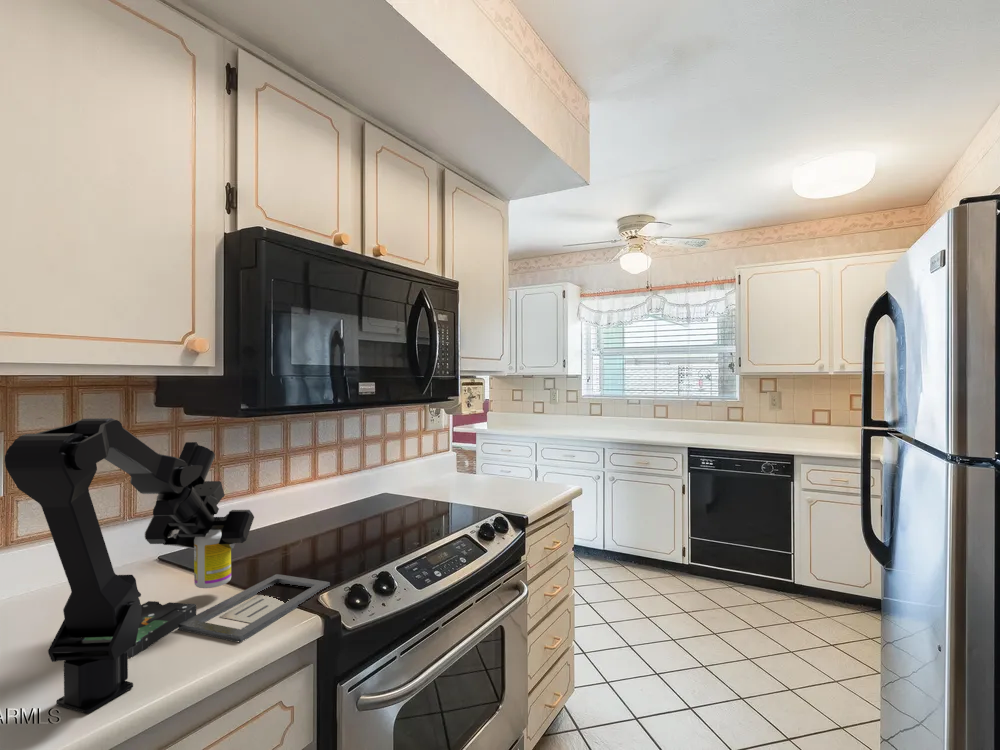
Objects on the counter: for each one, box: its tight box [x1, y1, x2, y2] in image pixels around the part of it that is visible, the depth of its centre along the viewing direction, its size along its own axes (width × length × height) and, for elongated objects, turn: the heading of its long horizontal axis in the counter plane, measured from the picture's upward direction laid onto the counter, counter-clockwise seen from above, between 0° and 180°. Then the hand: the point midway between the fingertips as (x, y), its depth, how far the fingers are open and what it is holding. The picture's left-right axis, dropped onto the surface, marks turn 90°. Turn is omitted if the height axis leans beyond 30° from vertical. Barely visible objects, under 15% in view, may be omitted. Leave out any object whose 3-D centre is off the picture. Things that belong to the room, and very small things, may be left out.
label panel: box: [177, 573, 331, 643], centre depth 103 cm, size 24×14×1 cm, turn 161°
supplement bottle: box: [193, 530, 232, 589], centre depth 107 cm, size 7×7×13 cm
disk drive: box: [82, 600, 197, 658], centre depth 92 cm, size 10×3×15 cm
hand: (216, 546), depth 109 cm, fingers closed on supplement bottle, 7 cm apart
